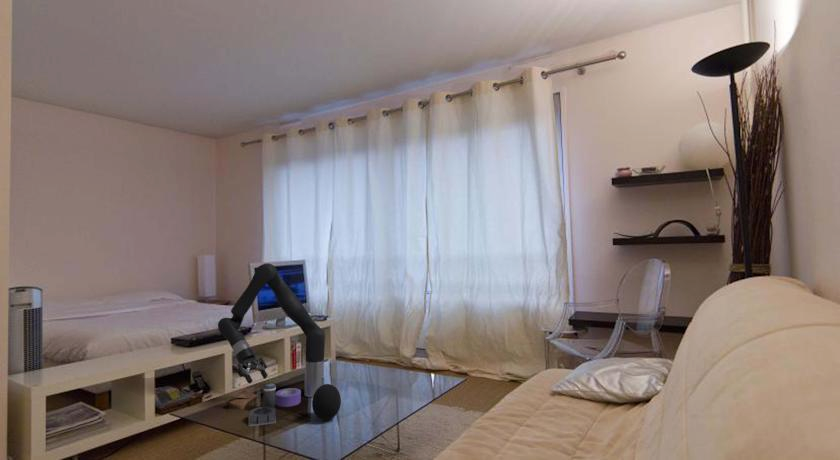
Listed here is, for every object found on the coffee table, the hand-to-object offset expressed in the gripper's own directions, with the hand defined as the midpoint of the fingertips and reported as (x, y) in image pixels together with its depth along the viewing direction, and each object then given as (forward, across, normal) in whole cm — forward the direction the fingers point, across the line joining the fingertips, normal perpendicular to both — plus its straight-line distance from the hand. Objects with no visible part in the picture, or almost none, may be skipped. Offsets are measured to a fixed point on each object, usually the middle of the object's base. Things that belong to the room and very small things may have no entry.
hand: (258, 380), depth 192 cm
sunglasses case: (+2, 0, +16) cm, 16 cm away
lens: (+14, 0, +3) cm, 14 cm away
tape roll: (+14, +11, +3) cm, 19 cm away
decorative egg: (+35, +6, -17) cm, 39 cm away
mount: (+19, -9, -1) cm, 21 cm away
